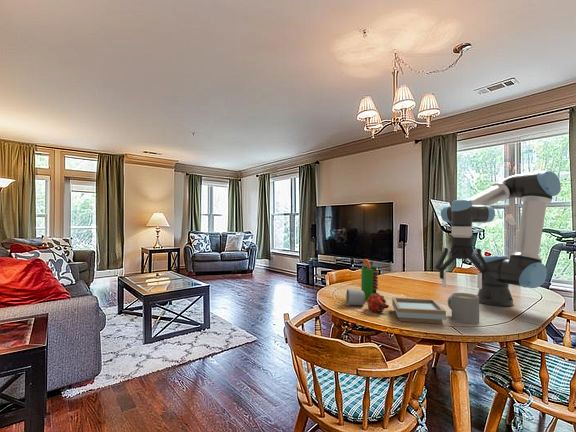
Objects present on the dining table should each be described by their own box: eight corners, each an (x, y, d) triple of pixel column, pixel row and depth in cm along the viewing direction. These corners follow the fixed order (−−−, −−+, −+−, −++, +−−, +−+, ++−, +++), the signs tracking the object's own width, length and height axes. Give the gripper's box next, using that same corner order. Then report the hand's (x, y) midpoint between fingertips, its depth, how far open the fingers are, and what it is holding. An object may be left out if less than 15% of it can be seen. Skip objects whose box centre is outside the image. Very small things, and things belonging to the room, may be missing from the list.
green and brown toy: (379, 300, 159) (379, 261, 159) (361, 299, 161) (361, 260, 161) (377, 295, 169) (377, 258, 169) (360, 294, 171) (360, 258, 171)
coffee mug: (485, 323, 124) (485, 298, 125) (462, 324, 123) (462, 298, 123) (462, 313, 138) (462, 290, 138) (441, 314, 137) (441, 291, 137)
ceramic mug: (365, 307, 148) (365, 290, 148) (348, 307, 148) (348, 290, 148) (360, 301, 158) (360, 286, 158) (344, 301, 158) (344, 286, 158)
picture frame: (434, 311, 140) (434, 299, 140) (446, 325, 123) (446, 310, 123) (392, 309, 144) (392, 297, 144) (397, 322, 126) (397, 308, 126)
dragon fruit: (373, 310, 148) (382, 322, 136) (359, 300, 147) (367, 311, 135) (384, 296, 148) (394, 306, 136) (370, 286, 146) (379, 296, 135)
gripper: (490, 236, 132) (490, 287, 132) (427, 235, 137) (427, 284, 137) (499, 237, 125) (498, 291, 124) (431, 236, 130) (431, 287, 129)
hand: (461, 287), depth 130 cm, fingers open, 13 cm apart
